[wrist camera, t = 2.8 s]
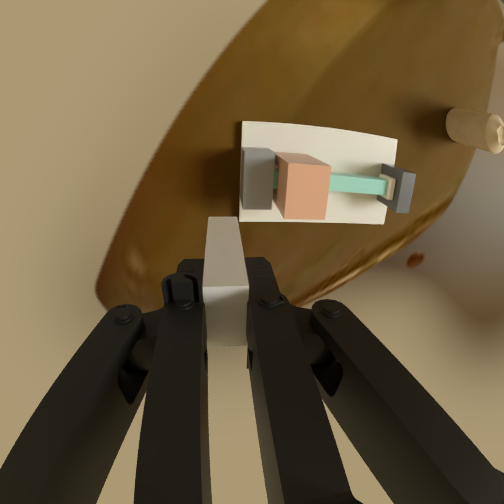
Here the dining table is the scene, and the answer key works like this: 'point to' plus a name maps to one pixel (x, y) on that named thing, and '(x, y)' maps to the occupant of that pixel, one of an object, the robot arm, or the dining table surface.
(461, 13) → the dining table surface
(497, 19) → the dining table surface
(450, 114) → the candle
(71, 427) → the robot arm
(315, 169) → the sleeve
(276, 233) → the dining table surface
